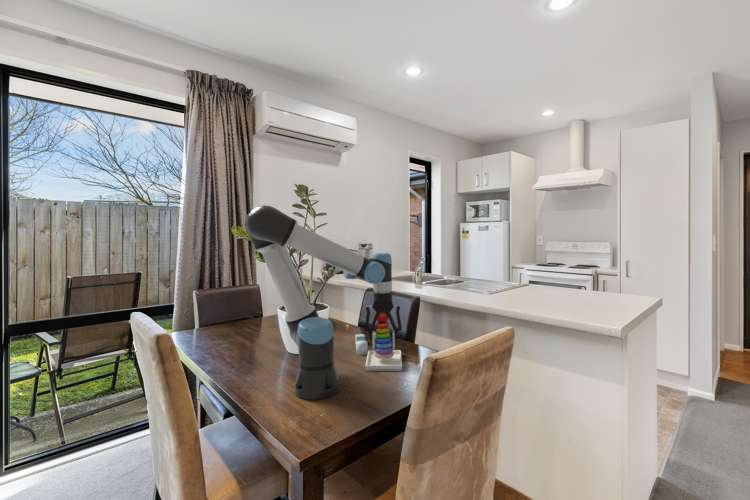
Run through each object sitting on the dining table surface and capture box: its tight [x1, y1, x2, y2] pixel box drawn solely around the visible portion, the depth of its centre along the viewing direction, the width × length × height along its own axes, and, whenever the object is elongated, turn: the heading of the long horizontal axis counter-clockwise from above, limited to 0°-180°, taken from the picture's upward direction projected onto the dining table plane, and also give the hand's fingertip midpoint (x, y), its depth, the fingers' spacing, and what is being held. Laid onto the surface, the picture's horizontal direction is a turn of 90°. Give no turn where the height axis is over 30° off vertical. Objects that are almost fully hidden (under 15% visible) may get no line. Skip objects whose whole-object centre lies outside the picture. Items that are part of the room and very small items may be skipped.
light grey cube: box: [355, 340, 369, 356], centre depth 155 cm, size 5×5×5 cm
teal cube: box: [354, 333, 366, 344], centre depth 169 cm, size 4×4×4 cm
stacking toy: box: [373, 312, 394, 359], centre depth 143 cm, size 8×8×19 cm
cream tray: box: [364, 349, 403, 372], centre depth 144 cm, size 14×18×2 cm
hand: (383, 347), depth 143 cm, fingers closed on stacking toy, 7 cm apart
